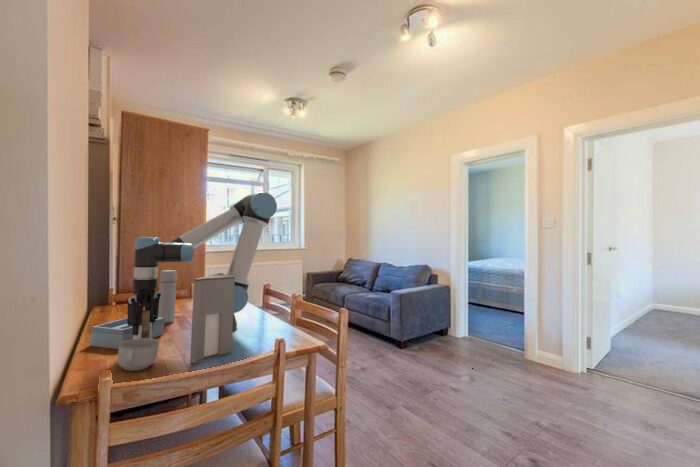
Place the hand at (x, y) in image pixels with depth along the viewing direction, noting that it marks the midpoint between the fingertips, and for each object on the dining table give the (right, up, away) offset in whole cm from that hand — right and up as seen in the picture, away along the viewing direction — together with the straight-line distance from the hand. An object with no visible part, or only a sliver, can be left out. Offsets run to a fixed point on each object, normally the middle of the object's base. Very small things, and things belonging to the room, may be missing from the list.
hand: (142, 341), depth 119 cm
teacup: (+10, -3, -18) cm, 21 cm away
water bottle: (-13, -4, +39) cm, 41 cm away
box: (-12, -3, +10) cm, 15 cm away
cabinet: (+29, -4, -3) cm, 29 cm away
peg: (0, -3, 0) cm, 3 cm away
